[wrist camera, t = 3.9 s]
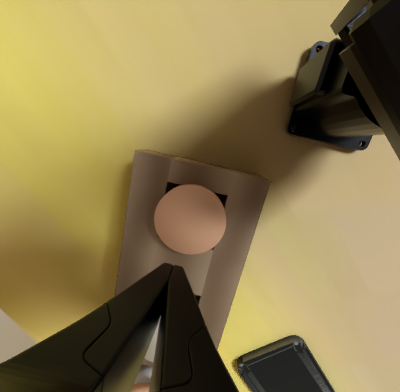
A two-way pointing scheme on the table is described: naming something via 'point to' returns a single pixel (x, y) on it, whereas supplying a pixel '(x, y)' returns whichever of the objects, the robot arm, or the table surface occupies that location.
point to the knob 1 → (143, 379)
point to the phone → (283, 368)
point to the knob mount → (193, 264)
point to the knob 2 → (190, 219)
